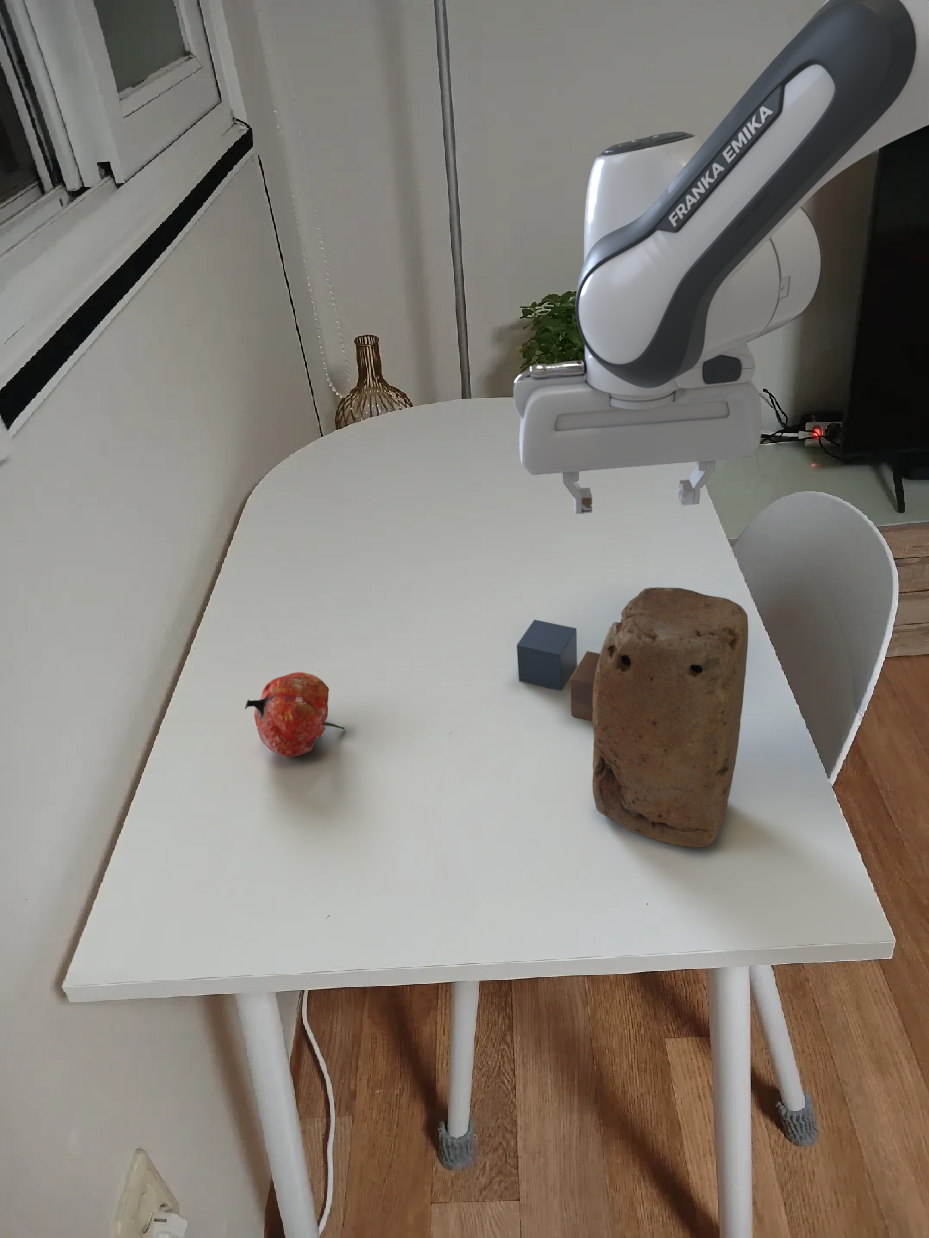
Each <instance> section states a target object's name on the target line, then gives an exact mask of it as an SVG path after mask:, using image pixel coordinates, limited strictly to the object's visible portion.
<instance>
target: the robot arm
mask: <svg viewBox="0 0 929 1238" xmlns="http://www.w3.org/2000/svg"><path fill="white" fill-rule="evenodd" d="M927 126H929V0H825V2H824V3H823V4H821V7H820V8H819V9H817V11H815V13H814V14H813V16H812V17H811V18H810V19H809V20H808V21H807V22H806V24H805V25H804V26H803V27H802V28H801V29H800V30H799V32H797V34H796V35H795V36H794V37H793V38H792V39H791V40H790V41H789V42H788V43H787V44H786V46H784V48H783V49H782V50H781V51H780V52H779V53H778V54H777V56H775V58H773V60H772V61H771V62H770V63H769V65H767V66H766V68H765V69H764V70H763V71H762V72H761V74H759V76H758V77H757V78H756V80H754V82H752V84H751V85H750V86H749V88H748V89H747V90H746V91H745V93H744V94H743V95H742V96H741V97H740V99H738V101H737V102H736V104H735V105H734V106H733V107H732V109H730V111H729V112H728V113H727V114H726V115H725V117H724V118H723V119H722V121H721V122H720V123H719V124H718V125H717V126H716V127H715V129H714V130H713V132H712V133H711V134H710V135H709V136H708V138H707V139H706V140H705V141H704V142H703V141H702V139H701V138H700V137H699V136H697V135H695V134H693V133H689V132H685V131H671V132H665V133H664V132H663V133H659V134H654V135H650V136H647V137H642V138H637V139H632V140H629V141H625V142H621V143H617V144H614V145H611V146H609V147H607V148H606V149H604V150H603V151H602V152H601V153H600V154H599V155H598V156H596V158H595V160H594V162H593V165H592V168H591V171H590V174H589V178H588V181H587V182H588V183H587V188H586V196H585V204H584V205H585V207H584V220H583V221H584V223H583V228H584V229H583V265H582V268H581V271H580V273H579V274H580V275H579V278H578V282H577V287H576V294H575V303H574V304H575V305H574V307H575V320H576V325H577V330H578V333H579V335H580V338H581V340H582V343H583V344H584V358H583V359H581V360H579V359H578V360H571V361H569V360H568V361H562V362H559V363H550V364H547V363H536V364H533V365H530V366H529V369H527V370H524V371H523V372H521V373H520V374H519V375H518V376H517V377H516V378H515V379H514V382H513V385H512V402H513V408H514V410H515V412H516V414H518V416H520V422H519V435H518V436H519V438H518V439H519V441H518V446H519V449H518V450H519V459H520V464H521V466H522V468H523V469H524V470H525V471H526V472H527V473H528V474H529V475H532V476H538V475H541V476H542V475H552V474H553V475H554V474H560V475H561V481H562V483H563V485H564V486H565V487H566V489H567V491H568V492H569V494H570V495H571V496H572V497H573V509H574V513H575V515H583V514H592V513H593V506H592V505H593V495H592V492H591V487H581V486H580V485H579V483H578V482H579V481H580V472H588V471H589V472H590V471H600V470H614V469H624V468H626V469H627V468H638V467H650V466H661V465H663V466H664V465H675V464H686V463H694V464H695V468H694V470H693V472H692V473H691V474H690V476H689V478H688V479H681V480H679V486H678V487H679V491H678V498H679V502H681V503H680V504H681V506H693V505H694V506H695V505H699V504H700V500H701V489H702V488H703V487H704V486H705V485H706V483H707V482H708V481H709V479H710V478H711V476H712V475H713V474H714V472H715V471H716V461H722V460H736V459H747V458H750V457H752V455H753V454H754V453H755V452H756V451H757V450H758V448H759V447H760V445H761V440H762V439H761V438H762V402H761V401H762V400H761V395H760V393H759V390H758V388H757V386H756V385H755V383H754V382H753V380H752V378H753V377H754V376H755V370H756V360H755V358H754V355H753V353H752V351H751V349H750V348H749V346H748V345H747V344H748V343H750V342H752V341H754V340H756V339H759V338H761V337H763V336H765V335H767V334H769V333H771V332H774V331H776V330H779V329H780V328H782V327H784V326H785V325H788V324H789V323H790V322H792V321H794V320H796V319H798V318H799V317H800V316H802V315H803V314H804V313H805V312H806V311H807V309H808V308H809V307H810V306H811V304H812V302H813V300H814V299H815V296H816V294H817V292H818V290H819V286H820V283H821V278H822V271H823V250H822V243H821V238H820V236H819V232H818V230H817V228H816V226H815V223H814V222H813V220H812V218H811V217H810V215H809V214H808V212H807V211H806V210H805V209H804V207H803V205H805V203H806V202H807V201H809V199H810V198H811V197H812V196H813V195H814V194H815V193H816V192H818V191H819V190H820V189H821V188H822V187H823V186H824V185H826V184H827V183H828V182H829V181H830V180H833V178H835V177H836V176H837V175H838V174H840V173H841V172H843V171H845V170H846V169H848V168H849V167H850V166H852V165H853V164H855V163H857V162H858V161H860V160H861V159H863V158H865V157H867V156H868V155H870V154H872V153H874V152H876V151H877V150H879V149H881V148H883V147H884V146H887V145H888V144H891V143H893V142H895V141H897V140H898V139H900V138H903V137H905V136H907V135H909V134H911V133H913V132H916V131H918V130H920V129H923V128H924V127H927ZM528 376H529V377H528Z"/></svg>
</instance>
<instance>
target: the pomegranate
mask: <svg viewBox="0 0 929 1238" xmlns="http://www.w3.org/2000/svg"><path fill="white" fill-rule="evenodd" d="M329 692H330V688H329V686H328V685H327V684H326V683H325V682H324V681H323V679H321V678H320V677H318V676H317V675H314V674H311V673H309V672H303V671H301V672H300V671H297V672H291V673H289V674H286V675H283V676H278V677H275V678H274V679H272V680H270V681H269V682H268V683H266V685H265V686H264V687H263V689H262V692H261V696H260V698H259V699H258V700H257V699H254V700H250V699H247V700H246V703H245V706H244V710H247V708H249V707H250V708H251V707H254V712H253V713H254V714H253V717H254V721H255V726H256V727H257V732H258V736H259V739H260V740H261V742H262V743H263V745H265V747H266V748H268V749H269V750H270V751H272V752H274V753H276V754H278V755H281V756H283V757H287V758H292V757H297V756H301V755H303V754H306V753H309V752H311V751H312V749H313V746H314V743H315V740H318V739H320V738H321V737H322V735H323V734H324V732H325V730H326V727H333V728H337V729H341V730H345V728H346V727H345V726H340V725H338V724H336V723H331V722H328V721H326V720H327V718H328V714H329V713H328V712H329V706H328V705H329V704H328V702H329Z"/></svg>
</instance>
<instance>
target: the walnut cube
mask: <svg viewBox="0 0 929 1238" xmlns="http://www.w3.org/2000/svg"><path fill="white" fill-rule="evenodd" d="M599 656H600V653H598V652H593V651H589V650H587V651H586V652H585V654H584V655H583V657H582V659H581V660H580V661H579V664H577V666H576V669H574V672H573V674H572V676H570V680H569V681H570V712H571V713H570V715H571V717H575V718H580V719H583V720H587V721H591V722H593V721H592V720H593V686H594V680H595V672H596V668H597V663H598V660H599Z"/></svg>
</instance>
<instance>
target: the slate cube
mask: <svg viewBox="0 0 929 1238" xmlns="http://www.w3.org/2000/svg"><path fill="white" fill-rule="evenodd" d="M577 633H578V632H577V628H576V627H572V626H568V625H564V624H557V623H553V622H548V621H544V620H538V619H533V621H532V622H531V624H529V626H528V628H527V629H526V631H525V632H524V634H523V635H522V637H521V638H520V639H519V641H518V642H517V643H516V656H517V671H518V672H517V674H518V682H523V683H527V684H531V685H534V686H539V687H544V688H547V689H552V690H556V691H562V690H563V688H564V687H565V685H566V683H567V681H568V680H569V678H571V675H572V673H574V672H573V671H575V668H577V666H578V644H577V643H578V642H577V641H578V640H577V639H578V636H577Z"/></svg>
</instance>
